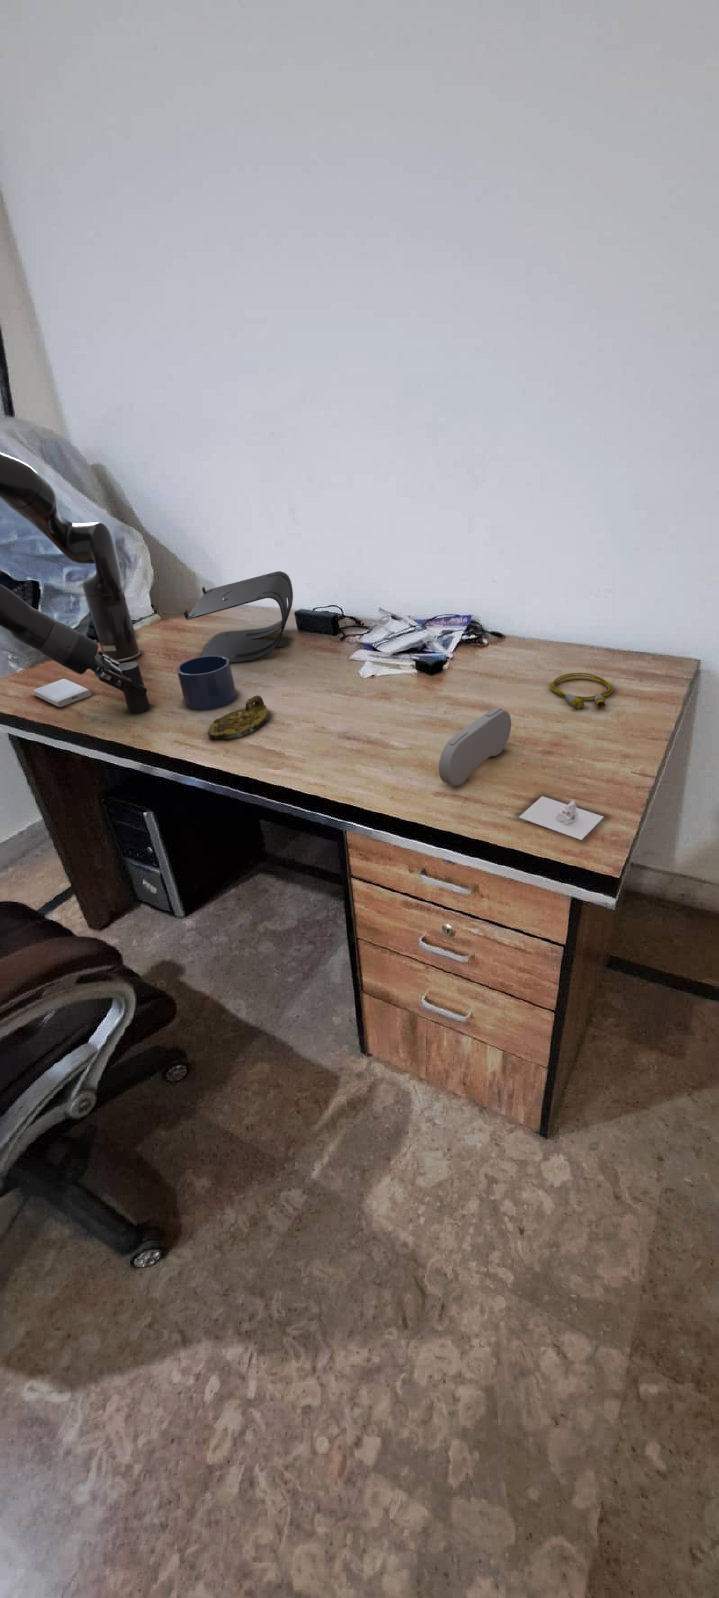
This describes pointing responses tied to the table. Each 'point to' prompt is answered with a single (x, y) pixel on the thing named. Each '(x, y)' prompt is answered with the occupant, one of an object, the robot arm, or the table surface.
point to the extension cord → (577, 701)
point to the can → (206, 682)
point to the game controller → (474, 746)
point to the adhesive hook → (561, 817)
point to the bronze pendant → (240, 720)
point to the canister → (132, 700)
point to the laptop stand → (266, 586)
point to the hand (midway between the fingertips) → (142, 688)
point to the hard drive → (62, 692)
